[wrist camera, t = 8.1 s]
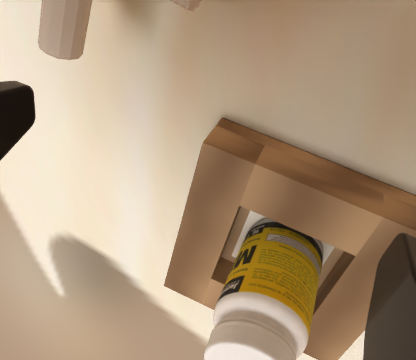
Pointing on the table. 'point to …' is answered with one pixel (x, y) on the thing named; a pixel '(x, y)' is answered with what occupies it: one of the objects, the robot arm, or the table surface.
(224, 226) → the holder
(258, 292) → the supplement bottle
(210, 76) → the table surface
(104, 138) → the table surface
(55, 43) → the pipe connector
